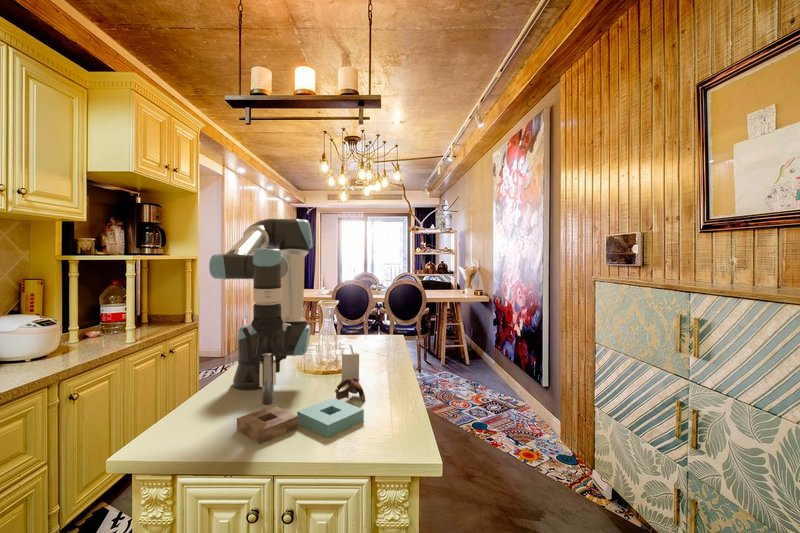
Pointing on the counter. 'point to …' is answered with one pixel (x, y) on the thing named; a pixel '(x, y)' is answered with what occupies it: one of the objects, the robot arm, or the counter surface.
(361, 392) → the brown ring with knob
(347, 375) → the white box
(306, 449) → the counter surface
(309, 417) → the dock socket
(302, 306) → the robot arm
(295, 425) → the pin mount
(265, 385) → the pin
